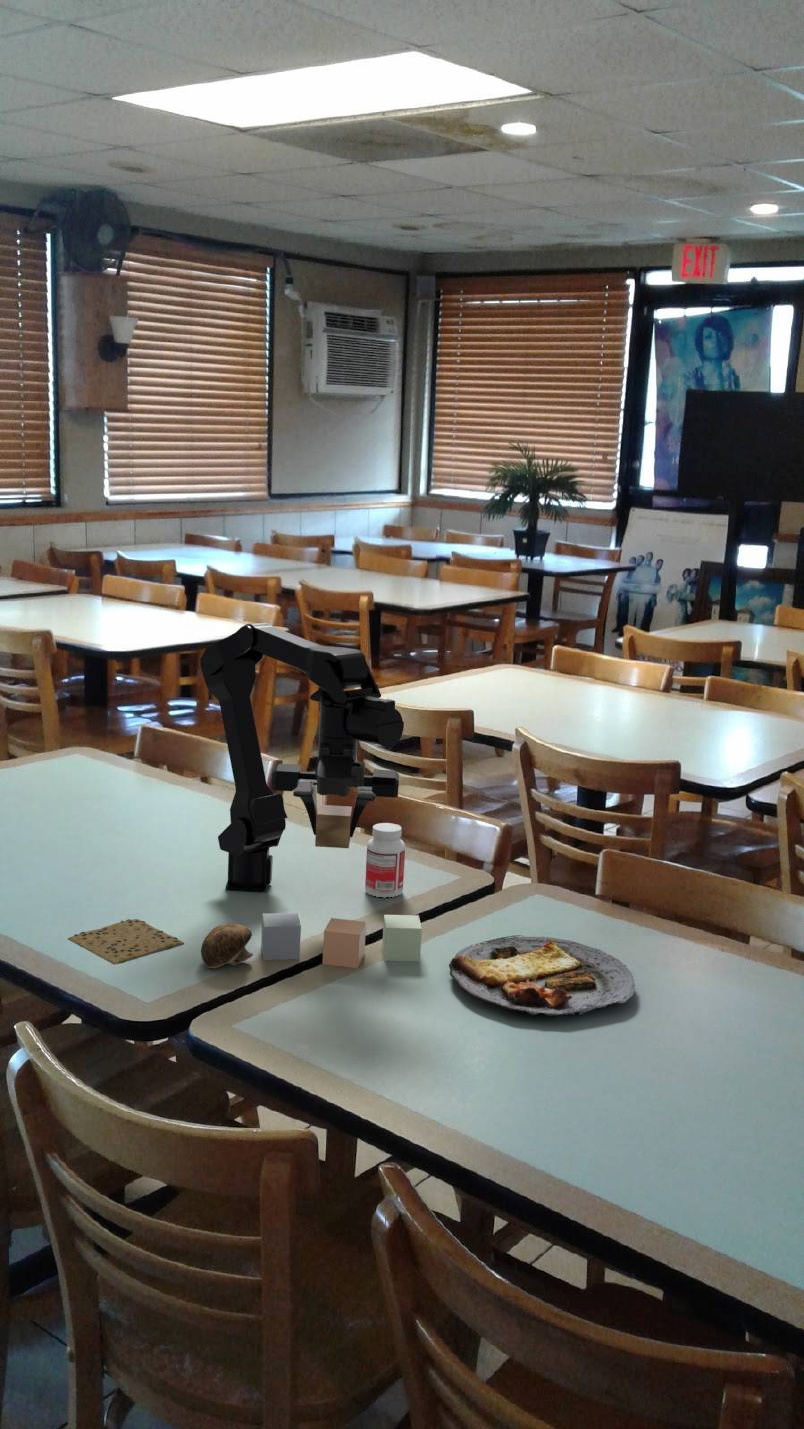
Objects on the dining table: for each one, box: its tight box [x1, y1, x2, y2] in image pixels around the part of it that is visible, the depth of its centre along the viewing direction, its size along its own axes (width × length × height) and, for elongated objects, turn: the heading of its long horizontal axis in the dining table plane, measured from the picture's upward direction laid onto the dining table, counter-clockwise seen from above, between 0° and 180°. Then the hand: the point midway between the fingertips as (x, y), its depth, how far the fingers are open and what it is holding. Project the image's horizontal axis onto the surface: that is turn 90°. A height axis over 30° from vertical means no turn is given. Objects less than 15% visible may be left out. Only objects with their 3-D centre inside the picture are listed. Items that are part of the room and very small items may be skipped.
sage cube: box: [381, 914, 423, 963], centre depth 179 cm, size 5×5×5 cm
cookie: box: [67, 918, 185, 965], centre depth 179 cm, size 12×12×1 cm
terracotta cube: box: [321, 917, 367, 969], centre depth 176 cm, size 5×5×5 cm
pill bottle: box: [364, 822, 406, 899], centre depth 203 cm, size 6×6×11 cm
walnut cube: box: [314, 804, 353, 849], centre depth 189 cm, size 5×5×5 cm
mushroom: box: [200, 922, 254, 969], centre depth 172 cm, size 8×8×6 cm
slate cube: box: [260, 912, 302, 961], centre depth 177 cm, size 5×5×5 cm
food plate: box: [448, 934, 636, 1017], centre depth 172 cm, size 25×23×4 cm
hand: (333, 835), depth 190 cm, fingers closed on walnut cube, 5 cm apart
